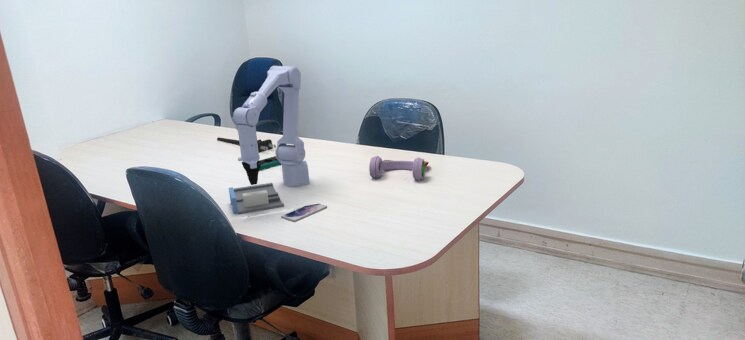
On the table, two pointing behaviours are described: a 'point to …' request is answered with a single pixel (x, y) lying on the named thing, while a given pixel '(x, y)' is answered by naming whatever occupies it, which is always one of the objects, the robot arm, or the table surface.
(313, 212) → the smartphone
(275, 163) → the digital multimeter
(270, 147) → the electrical plug
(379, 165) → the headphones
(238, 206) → the board
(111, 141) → the table surface
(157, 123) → the table surface
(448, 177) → the table surface
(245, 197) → the light grey long block
